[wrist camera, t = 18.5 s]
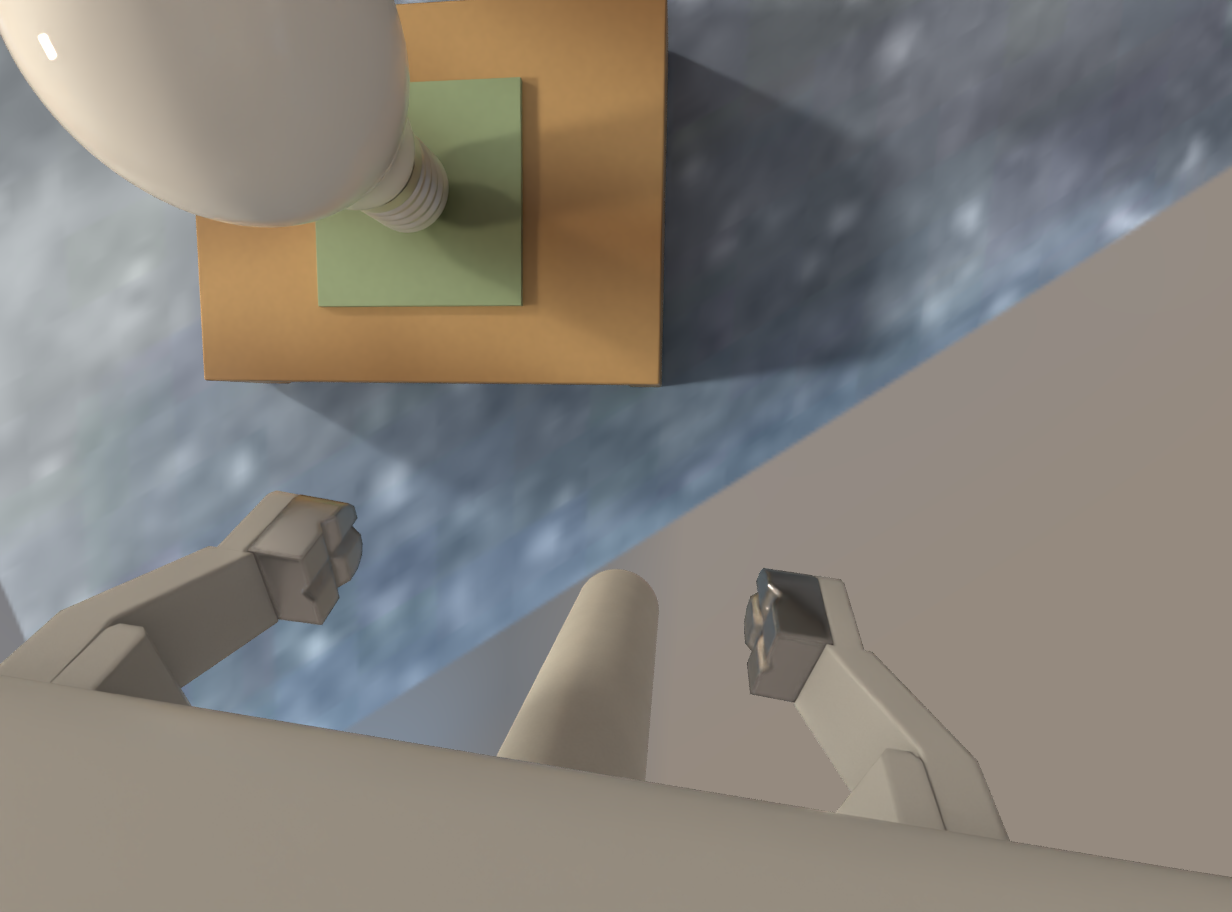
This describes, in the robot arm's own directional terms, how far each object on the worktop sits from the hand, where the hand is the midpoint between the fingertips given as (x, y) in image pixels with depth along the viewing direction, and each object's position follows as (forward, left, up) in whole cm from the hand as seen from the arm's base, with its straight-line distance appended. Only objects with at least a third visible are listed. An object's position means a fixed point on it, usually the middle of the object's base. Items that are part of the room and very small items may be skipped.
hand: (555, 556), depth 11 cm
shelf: (+10, +6, -11) cm, 16 cm away
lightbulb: (+10, +6, -8) cm, 14 cm away
